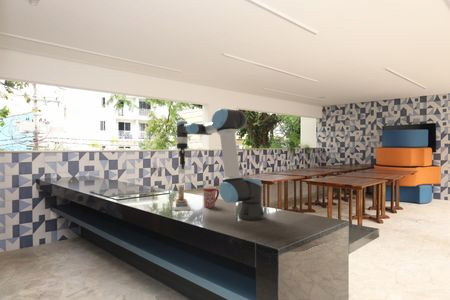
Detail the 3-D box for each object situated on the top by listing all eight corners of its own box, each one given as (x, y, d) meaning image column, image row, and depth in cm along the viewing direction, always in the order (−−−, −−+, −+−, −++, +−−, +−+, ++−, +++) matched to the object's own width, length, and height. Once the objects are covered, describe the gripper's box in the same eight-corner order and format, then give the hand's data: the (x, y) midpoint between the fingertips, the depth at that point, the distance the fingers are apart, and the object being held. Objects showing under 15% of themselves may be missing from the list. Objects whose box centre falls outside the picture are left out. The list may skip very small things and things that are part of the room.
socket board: (188, 203, 220) (188, 198, 220) (190, 209, 198) (190, 203, 198) (173, 204, 218) (173, 198, 218) (173, 210, 196) (173, 204, 196)
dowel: (183, 202, 216) (183, 185, 216) (183, 203, 212) (183, 186, 212) (178, 202, 215) (178, 185, 215) (178, 203, 211) (178, 186, 211)
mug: (208, 208, 202) (208, 188, 202) (200, 206, 209) (200, 187, 209) (222, 206, 210) (222, 187, 210) (214, 204, 217) (214, 186, 217)
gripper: (176, 143, 225) (176, 171, 225) (177, 142, 200) (177, 174, 200) (186, 143, 226) (186, 171, 226) (188, 142, 202) (188, 174, 202)
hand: (182, 172), depth 213 cm, fingers open, 13 cm apart
